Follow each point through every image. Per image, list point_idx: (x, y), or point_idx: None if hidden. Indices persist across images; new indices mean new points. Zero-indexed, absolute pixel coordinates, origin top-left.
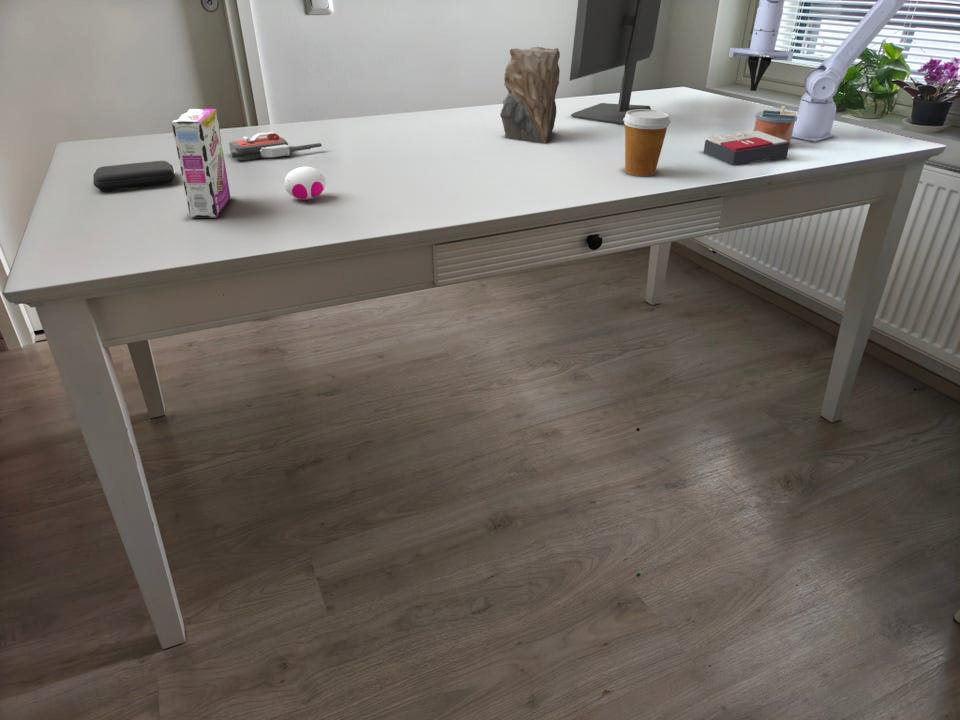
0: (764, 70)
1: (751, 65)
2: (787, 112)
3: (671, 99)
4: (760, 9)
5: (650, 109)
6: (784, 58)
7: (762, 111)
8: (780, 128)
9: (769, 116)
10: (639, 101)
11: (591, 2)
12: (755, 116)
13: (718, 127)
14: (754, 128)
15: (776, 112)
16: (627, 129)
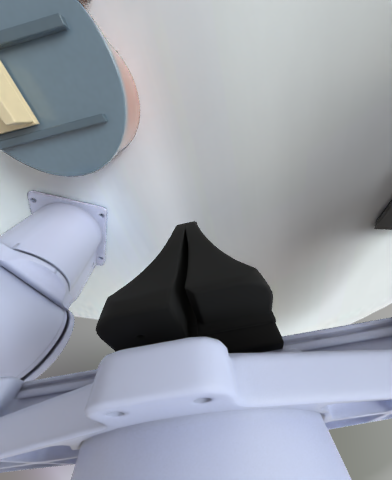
0: (143, 275)
1: (228, 269)
2: (8, 126)
3: (319, 313)
4: None
5: (383, 225)
6: (33, 394)
7: (116, 133)
8: None
9: (30, 18)
10: (369, 286)
11: None
12: (112, 52)
13: (242, 201)
14: (119, 62)
15: (56, 126)
16: None
